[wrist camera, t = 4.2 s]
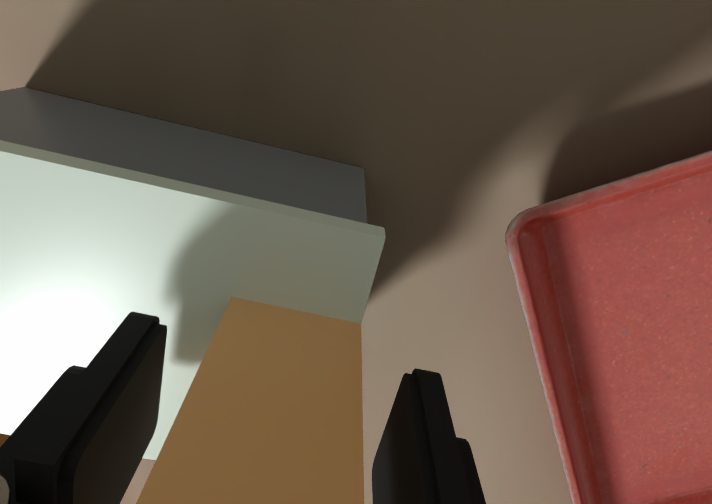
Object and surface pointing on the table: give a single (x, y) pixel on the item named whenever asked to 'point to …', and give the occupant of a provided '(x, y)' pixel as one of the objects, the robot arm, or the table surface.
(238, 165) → the tub
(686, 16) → the table surface
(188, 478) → the white tan l-shaped piece
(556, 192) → the table surface
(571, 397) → the plant saucer
